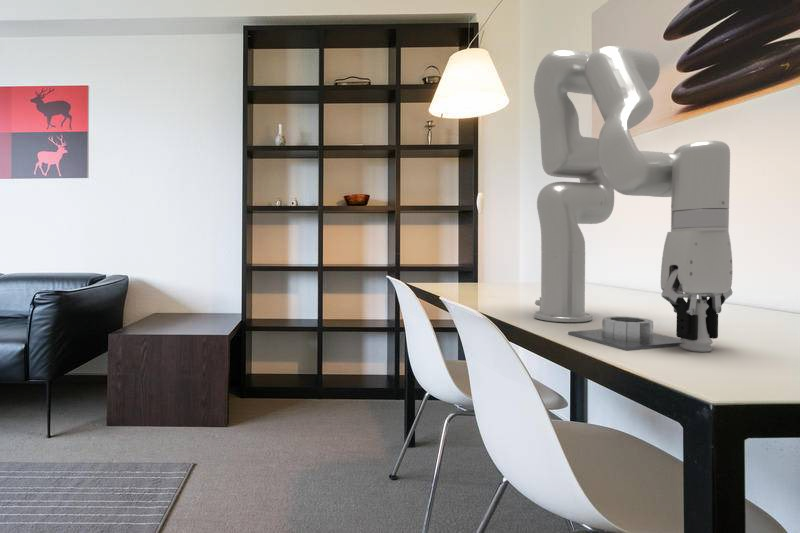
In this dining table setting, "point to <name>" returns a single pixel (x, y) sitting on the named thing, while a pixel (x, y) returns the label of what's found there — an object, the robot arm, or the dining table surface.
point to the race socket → (627, 334)
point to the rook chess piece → (699, 331)
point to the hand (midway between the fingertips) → (696, 336)
